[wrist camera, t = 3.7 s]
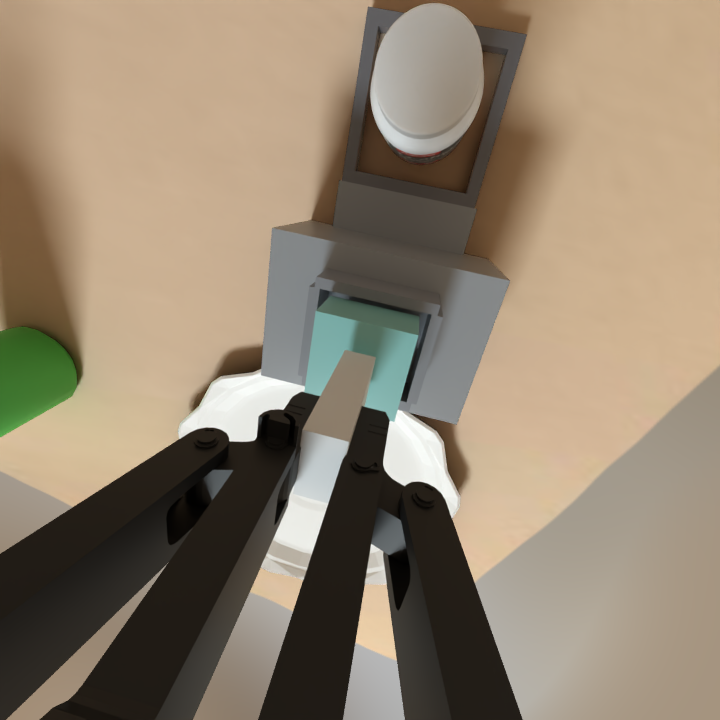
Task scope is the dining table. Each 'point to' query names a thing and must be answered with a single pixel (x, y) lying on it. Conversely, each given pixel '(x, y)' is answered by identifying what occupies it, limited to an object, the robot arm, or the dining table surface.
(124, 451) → the dining table surface
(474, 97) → the pill bottle
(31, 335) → the bottle
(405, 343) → the teal square block
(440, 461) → the plate
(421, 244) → the housing
